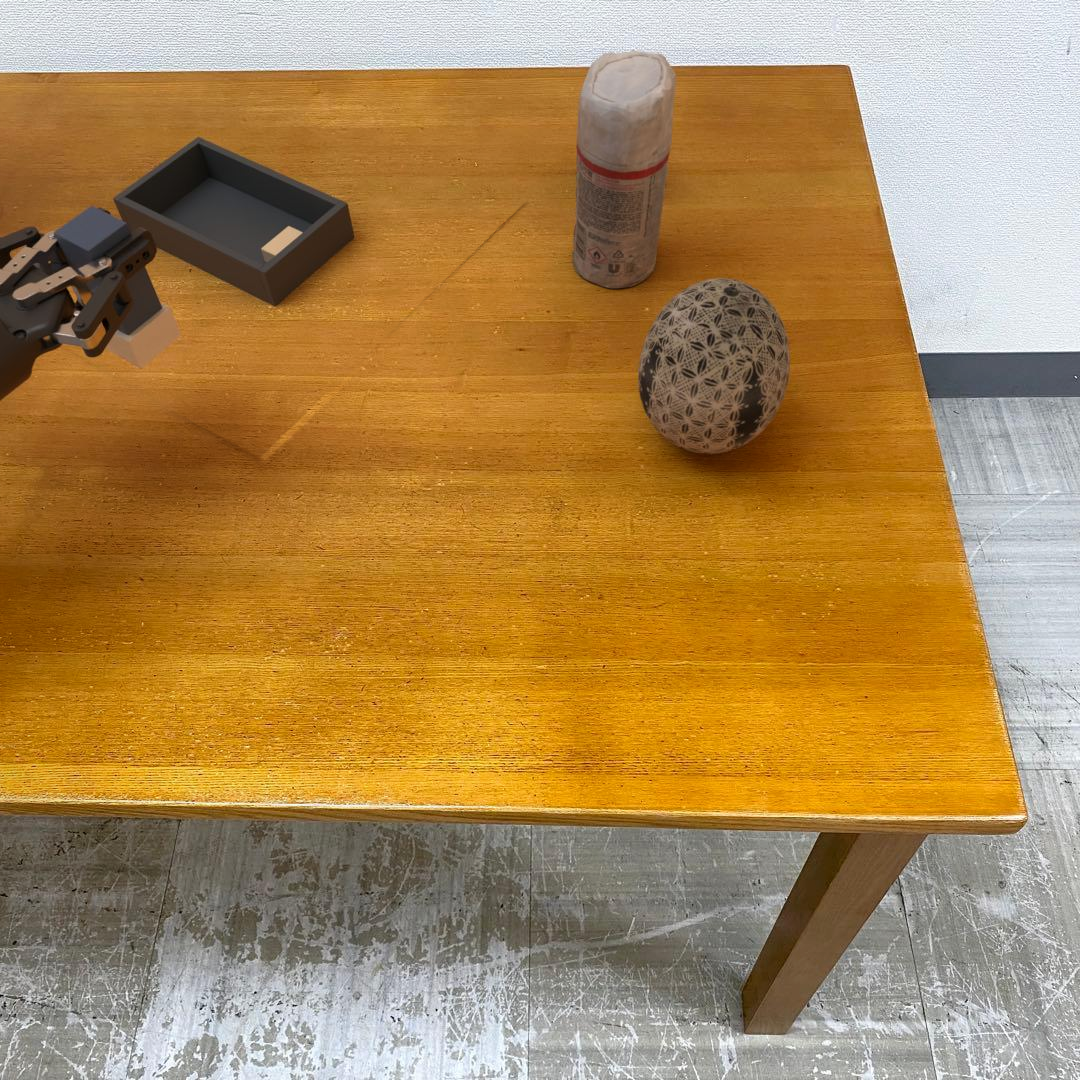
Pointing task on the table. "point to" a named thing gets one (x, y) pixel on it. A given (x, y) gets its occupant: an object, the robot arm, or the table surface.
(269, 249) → the beige square block
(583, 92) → the spray can
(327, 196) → the bin
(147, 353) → the two-tone block stamp
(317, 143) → the table surface
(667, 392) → the decorative egg
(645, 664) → the table surface
